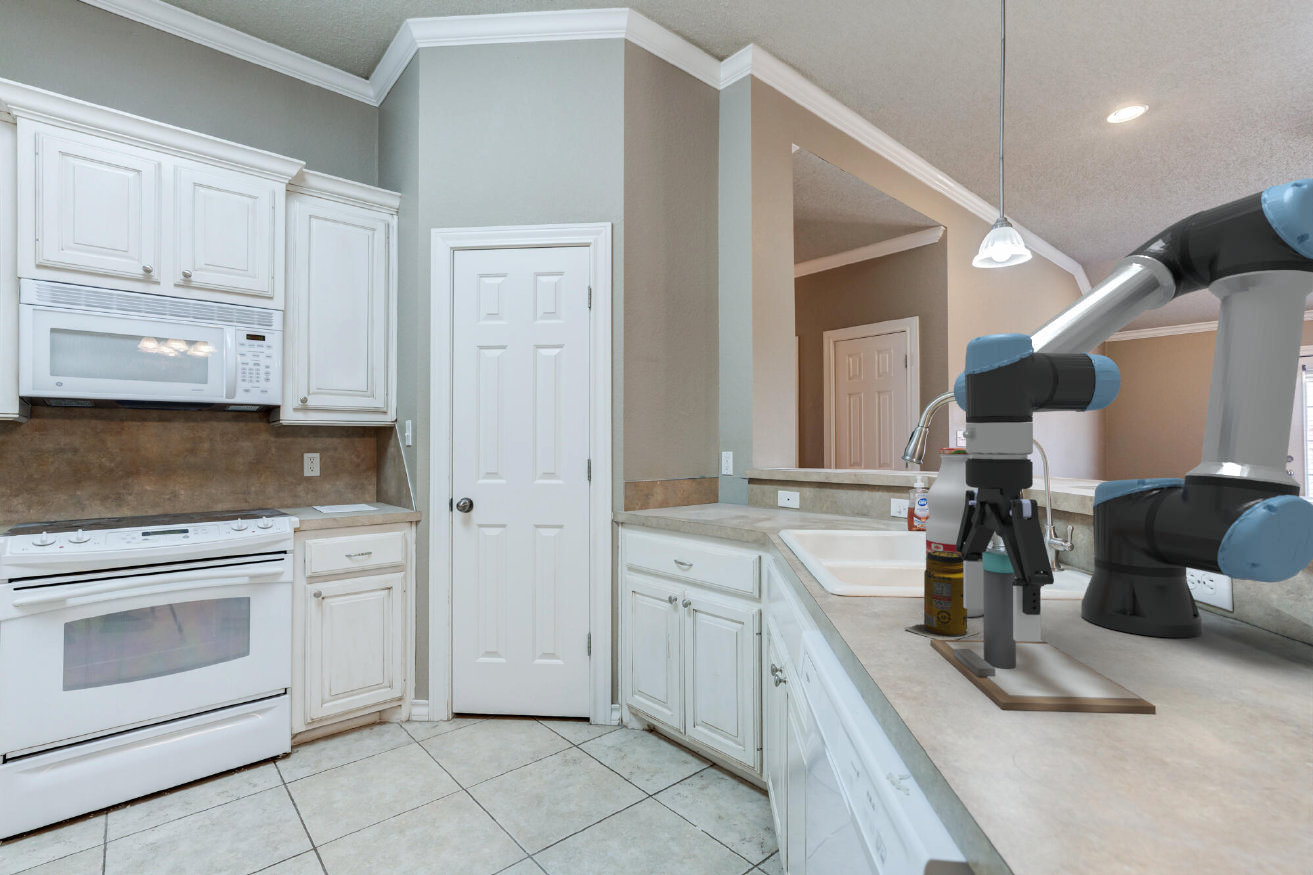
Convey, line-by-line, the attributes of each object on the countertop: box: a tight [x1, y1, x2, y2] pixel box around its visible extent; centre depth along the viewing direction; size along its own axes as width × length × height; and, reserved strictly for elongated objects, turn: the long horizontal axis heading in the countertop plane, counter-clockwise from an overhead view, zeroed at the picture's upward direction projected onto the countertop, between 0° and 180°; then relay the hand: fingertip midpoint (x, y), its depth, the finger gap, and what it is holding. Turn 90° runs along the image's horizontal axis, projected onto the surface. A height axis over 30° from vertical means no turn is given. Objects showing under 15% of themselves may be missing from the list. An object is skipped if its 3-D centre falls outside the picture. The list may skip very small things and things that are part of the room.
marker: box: [983, 550, 1016, 669], centre depth 79 cm, size 4×4×14 cm
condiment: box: [903, 551, 980, 640], centre depth 95 cm, size 7×8×12 cm
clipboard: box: [930, 639, 1157, 715], centre depth 78 cm, size 16×21×2 cm
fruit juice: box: [925, 447, 987, 618], centre depth 106 cm, size 9×9×28 cm
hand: (998, 623), depth 79 cm, fingers open, 13 cm apart
